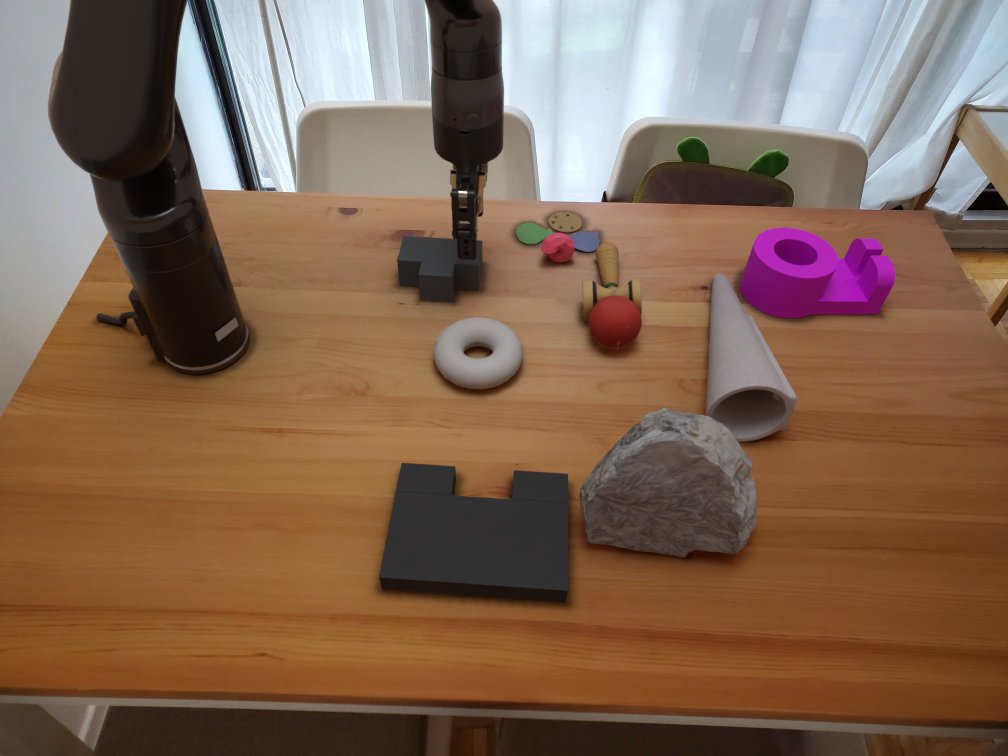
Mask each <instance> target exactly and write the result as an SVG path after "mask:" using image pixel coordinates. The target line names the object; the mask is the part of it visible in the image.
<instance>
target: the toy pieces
mask: <svg viewBox="0 0 1008 756" xmlns="http://www.w3.org/2000/svg"><path fill="white" fill-rule="evenodd" d="M549 216H550V217H549V218H548V221H547V222H548V225H549V226H550V228H547V229H546V228H544V227H543V226H541V225H538V224H536V223H534V222H524V223H521V224H520V225H518V226H517V228H516V230H515V235H516V238H517V239H518V240H519V242H521V243H522V244H525V245H531V246H534V245H537V244H539V243H541V242H542V243H541V247H540V251H541V253H543V254H546V256H548V258H549V259H550V260H552V261H553V262H554V263H560V264H561V263H565V262H567V261H569V260H570V259H571V258H572V257H573V256H574V254H575V249H576V250H579V251H582V252H586V253H589V252H594V251H596V250H597V248H598V247H599V246H600V237H599V231H598V230H595V231H578V230H580V229H581V228H582V226H583V221H582V218H581V217H580V216H579V215H577V214H576V213H574V212H571V211H559V212H555V213H553V214H552V215H549ZM553 230H554V231H557V232H553ZM566 233H571V234H569V235H568V234H566Z"/></svg>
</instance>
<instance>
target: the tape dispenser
mask: <svg viewBox="0 0 1008 756" xmlns="http://www.w3.org/2000/svg"><path fill="white" fill-rule="evenodd" d="M753 241H754V242H753V243H752V246H751V250H750V253H749V256H748V258H747V262H746V264H745V268H744V271H743V273H742V276H741V278H740V282H739V290H740V293H741V294H742V297H743V298H744V299H745V301H747V302H748V303H749V304H750V305H751V306H752V307H753V308H755V309H756V310H759V311H760V312H761V313H763V314H764V313H765V314H767V315H770V316H773V317H775V318H776V317H777V318H781V319H801V318H804V317H808V316H810V315H879V313H880V311H881V309H882V308H883V305H884V304H885V302H886V300H887V298H888V296H889V295H890V293H891V291H892V290H893V287H894V285H895V282H896V268H895V266H894V264H893V261H892V260H891V258H890V257H889V256H888V255H882V253H883V251H884V248H883V246H882V244H881V243H880V241H879V240H878V239H877V238H864V237H863V238H859V237H857V238H854V239H853V240H852V241H851V243H850V245H849V246H848V249H847V250H846V254H845V255H844V257H843V258H839V256H838V253H837V252H836V250H835V248H834V247H833V246H832V245H831V244H830V243H829V242H828V241H827V240H825V239H824V238H822V237H820V236H818V235H817V234H814V233H812V232H810V231H806V230H803V229H798V228H793V227H775V228H769V229H766V230H764V231H762V232H760V233H759V234H758V235H757V236H756V237H755V239H754V240H753Z"/></svg>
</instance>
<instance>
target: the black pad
mask: <svg viewBox="0 0 1008 756" xmlns="http://www.w3.org/2000/svg"><path fill="white" fill-rule="evenodd" d="M456 469H457V468H456V466H455V465H445V464H444V465H442V464H427V463H413V462H401V463H400V469H399V474H398V479H397V480H398V481H397V485H396V490H395V493H394V499H393V503H392V510H391V515H390V520H389V525H388V530H387V536H386V540H385V545H384V550H383V555H382V561H381V566H380V569H379V570H380V571H379V576H378V578H379V583H380V588H381V590H388V591H400V592H401V591H402V592H416V593H431V594H432V593H433V594H445V595H458V596H474V597H488V598H500V599H513V600H516V599H517V600H528V601H543V602H558V603H566V602H567V598H568V592H569V473H563V472H550V471H549V472H546V471H534V470H533V471H532V470H516V469H514V470H513V478H512V492H511V493H512V494H511V498H501V497H485V496H472V495H471V496H469V495H455V490H456V483H457V475H456V474H457V472H456V471H457V470H456Z"/></svg>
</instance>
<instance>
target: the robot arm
mask: <svg viewBox="0 0 1008 756" xmlns="http://www.w3.org/2000/svg"><path fill="white" fill-rule="evenodd" d="M188 2H189V0H70V1H69V10H68V18H67V24H66V30H65V35H64V40H63V46H62V50H61V52H60V53H59V55H58V57H57V58H56V60H55V63H54V66H53V69H52V75H51V81H50V88H49V93H48V100H47V117H48V121H49V125H50V128H51V131H52V133H53V135H54V137H55V140H56V142H57V144H58V145H59V147H60V148H61V150H62V151H63V153H64V154H65V155H66V156H67V158H69V160H70V161H71V162H72V163H73V164H74V165H76V166H77V167H78V168H80V169H81V170H82V171H84V172H85V173H87V174H89V177H90V181H91V184H92V189H93V192H94V198H95V203H96V208H97V211H98V213H99V215H100V218H101V220H102V223H103V225H104V227H105V229H106V232H107V233H108V235H109V237H110V240H111V242H112V244H113V246H114V249H115V250H116V252H117V253H116V254H117V255H118V257H119V259H120V262H121V264H122V266H123V268H124V270H125V273H126V275H127V277H128V279H129V281H130V283H131V286H132V288H131V289H130V290H129V292H128V296H127V298H128V300H129V303H130V305H131V307H132V309H133V311H126V312H123V313H120V315H119V316H118V318H117V317H113V316H110V315H107V314H104V313H97V314H96V320H98V321H102V322H104V323H105V322H106V323H109V324H112V325H115V326H126V325H127V323H128V320H129V319H132V320H133V323H134V325H135V326H136V329H137V331H138V333H139V335H140V336H141V337H146V339H147V342H148V343H149V345H150V347H151V350H152V353H153V355H154V356H155V358H156V361H157V362H161V363H162V362H163V363H166V364H167V365H168V366H169V367H171V368H172V369H173V370H175V371H177V372H180V373H184V374H188V375H204V374H209V373H213V372H218V371H220V370H222V369H225V368H227V367H228V366H231V365H232V364H234V363H235V362H237V361H238V360H239V359H240V358H241V357H242V356H243V355H244V354H245V352H246V350H247V349H248V347H249V345H250V339H251V338H250V337H251V336H250V331H249V329H248V326H247V324H246V321H245V319H244V317H243V313H242V311H241V307H240V304H239V300H238V298H237V295H236V292H235V288H234V286H233V282H232V279H231V276H230V273H229V270H228V267H227V263H226V261H225V257H224V255H223V251H222V248H221V245H220V242H219V239H218V236H217V233H216V230H215V227H214V224H213V221H212V218H211V214H210V212H209V211H210V210H209V208H208V205H207V201H206V199H205V195H204V193H203V188H202V184H201V180H200V175H199V171H198V166H197V163H196V160H195V155H194V154H193V150H192V146H191V143H190V140H189V137H188V134H187V131H186V127H185V124H184V120H183V117H182V113H181V110H180V107H179V105H178V101H177V97H176V81H177V68H178V58H179V57H178V53H179V48H180V47H179V46H180V39H181V38H180V37H181V31H182V27H183V21H184V17H185V13H186V9H187V5H188ZM424 4H425V6H426V10H427V14H428V15H427V16H428V20H429V45H430V46H429V48H430V63H431V76H430V102H431V116H432V117H431V119H432V132H433V147H434V150H435V152H436V154H437V155H438V156H439V158H440V159H442V160H443V161H446V162H449V163H450V164H452V169H450V170H449V184H450V186H451V191H450V194H449V197H450V199H451V200H450V209H451V224H452V225H451V226H452V230H451V236H452V239H457V252H458V258H460V259H466V260H474V259H476V257H477V240H478V232H479V226H478V222H479V221H478V220H479V218H480V217H482V216H483V215H484V189H485V188H486V186H487V181H488V173H489V162H491V161H493V160H495V159H497V157H499V156H500V154H501V153H502V152H503V149H504V133H505V132H504V131H505V130H504V126H505V125H504V123H505V83H504V75H503V74H504V73H503V22H502V21H503V20H502V15H501V11H500V9H499V7H498V6H497V4H496V2H495V1H494V0H424Z"/></svg>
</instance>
